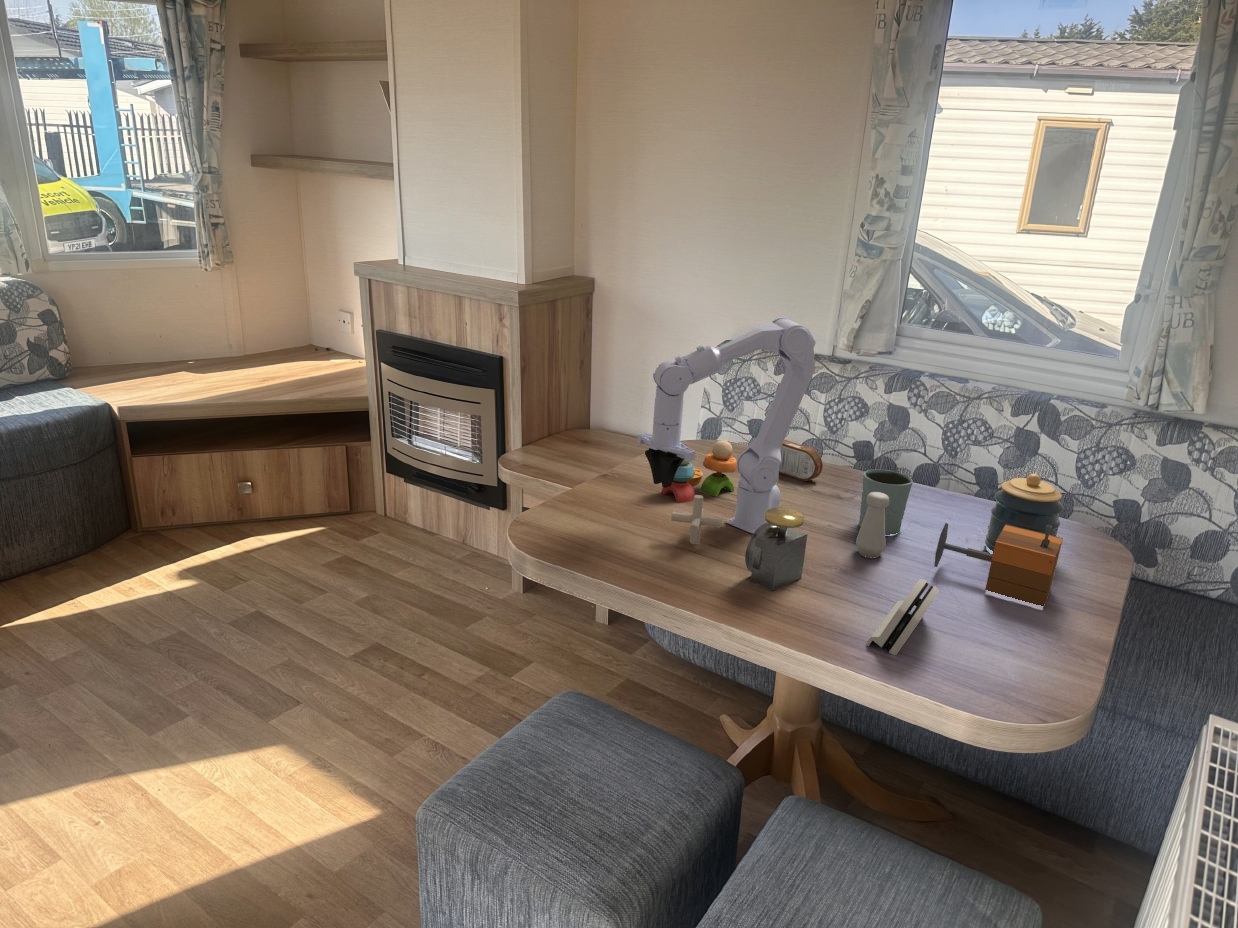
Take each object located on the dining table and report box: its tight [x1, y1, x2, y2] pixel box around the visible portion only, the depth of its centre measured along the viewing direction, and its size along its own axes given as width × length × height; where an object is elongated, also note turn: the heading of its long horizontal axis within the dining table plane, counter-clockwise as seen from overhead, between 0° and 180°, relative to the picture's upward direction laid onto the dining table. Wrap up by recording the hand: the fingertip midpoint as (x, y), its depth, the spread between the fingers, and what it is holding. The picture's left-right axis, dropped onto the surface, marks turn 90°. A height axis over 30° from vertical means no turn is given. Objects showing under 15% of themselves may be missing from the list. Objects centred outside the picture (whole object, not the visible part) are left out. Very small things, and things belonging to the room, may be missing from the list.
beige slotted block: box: [865, 578, 940, 656], centre depth 146 cm, size 17×5×10 cm, turn 148°
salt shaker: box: [855, 492, 889, 559], centre depth 176 cm, size 6×6×13 cm
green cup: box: [858, 469, 913, 535], centre depth 189 cm, size 10×10×12 cm
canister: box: [984, 473, 1064, 551], centre depth 179 cm, size 13×13×18 cm
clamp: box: [933, 522, 1064, 607], centre depth 165 cm, size 11×20×14 cm, turn 58°
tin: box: [779, 439, 824, 482], centre depth 219 cm, size 15×3×8 cm, turn 46°
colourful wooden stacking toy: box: [661, 440, 738, 504], centre depth 205 cm, size 18×17×12 cm
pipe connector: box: [670, 494, 723, 545], centre depth 176 cm, size 10×10×10 cm
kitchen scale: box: [744, 507, 808, 592], centre depth 162 cm, size 10×8×13 cm
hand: (662, 484), depth 182 cm, fingers closed
